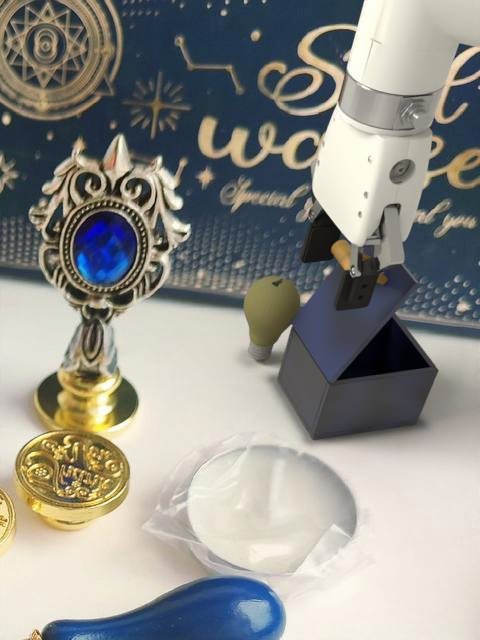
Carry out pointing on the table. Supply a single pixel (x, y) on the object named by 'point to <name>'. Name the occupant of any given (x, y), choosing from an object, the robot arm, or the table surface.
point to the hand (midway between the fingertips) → (333, 281)
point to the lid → (349, 313)
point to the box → (360, 384)
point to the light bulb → (269, 313)
